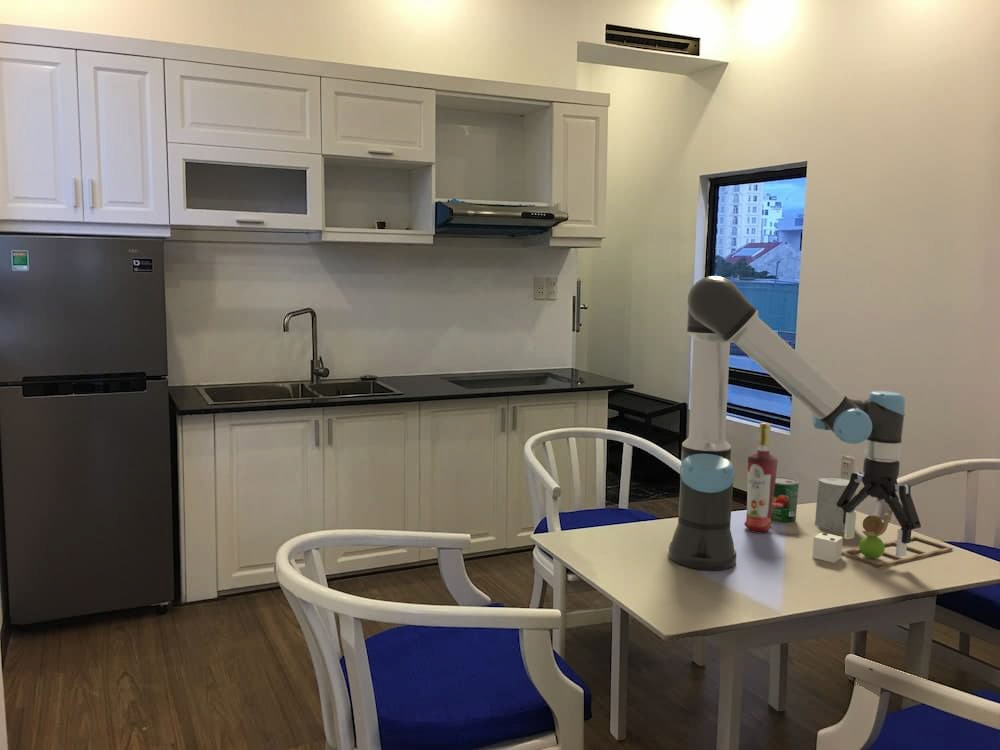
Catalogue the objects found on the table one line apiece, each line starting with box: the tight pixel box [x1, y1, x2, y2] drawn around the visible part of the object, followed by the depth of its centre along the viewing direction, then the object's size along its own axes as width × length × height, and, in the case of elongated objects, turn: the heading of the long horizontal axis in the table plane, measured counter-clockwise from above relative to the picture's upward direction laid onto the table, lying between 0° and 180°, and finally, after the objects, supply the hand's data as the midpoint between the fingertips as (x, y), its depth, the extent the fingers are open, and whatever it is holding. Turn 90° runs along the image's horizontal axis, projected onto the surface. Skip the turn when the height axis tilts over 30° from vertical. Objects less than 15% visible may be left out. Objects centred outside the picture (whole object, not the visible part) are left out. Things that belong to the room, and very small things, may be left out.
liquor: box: [743, 422, 779, 534], centre depth 207 cm, size 7×7×28 cm
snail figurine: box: [858, 508, 893, 560], centre depth 189 cm, size 5×6×12 cm
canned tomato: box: [771, 476, 800, 525], centre depth 218 cm, size 8×8×11 cm
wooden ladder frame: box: [841, 535, 954, 569], centre depth 195 cm, size 28×10×1 cm, turn 120°
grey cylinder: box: [814, 476, 857, 533], centre depth 214 cm, size 10×10×12 cm
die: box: [811, 531, 844, 564], centre depth 189 cm, size 5×5×5 cm
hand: (874, 546), depth 190 cm, fingers open, 13 cm apart
